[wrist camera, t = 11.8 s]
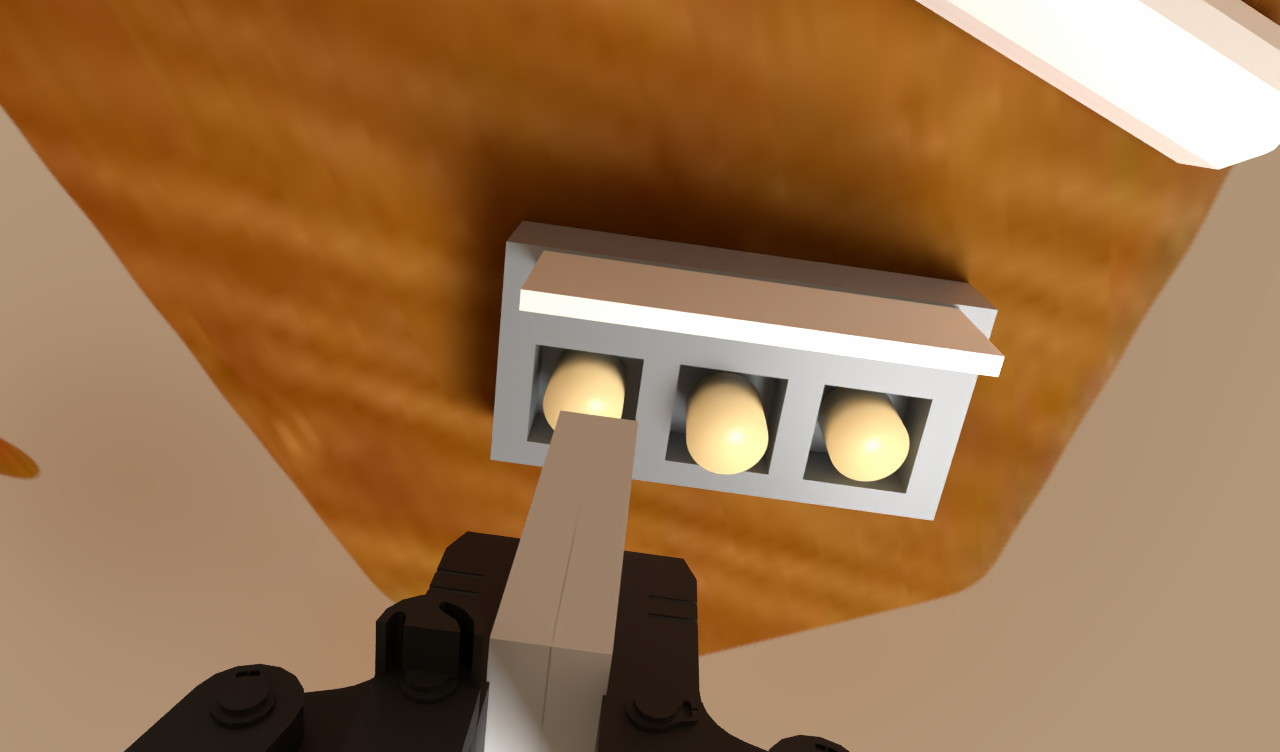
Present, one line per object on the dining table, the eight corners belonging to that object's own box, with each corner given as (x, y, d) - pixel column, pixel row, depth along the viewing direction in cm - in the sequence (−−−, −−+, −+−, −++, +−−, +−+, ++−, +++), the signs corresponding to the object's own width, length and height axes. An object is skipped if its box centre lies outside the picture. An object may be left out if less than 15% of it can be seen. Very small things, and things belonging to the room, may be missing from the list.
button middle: (680, 435, 51) (680, 468, 48) (692, 367, 49) (692, 395, 46) (754, 446, 51) (760, 479, 48) (768, 378, 50) (775, 407, 46)
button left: (549, 407, 52) (539, 436, 49) (556, 339, 51) (546, 364, 47) (621, 416, 53) (617, 447, 49) (631, 349, 51) (627, 376, 47)
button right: (811, 443, 53) (821, 475, 49) (827, 377, 51) (838, 405, 47) (883, 453, 53) (898, 486, 49) (901, 387, 51) (918, 416, 47)
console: (506, 422, 55) (462, 524, 44) (522, 220, 50) (477, 278, 39) (912, 478, 55) (969, 594, 44) (968, 283, 50) (1049, 358, 39)
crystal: (824, -17, 41) (1220, 225, 45) (920, -166, 36) (1363, 124, 39) (844, -80, 46) (1201, 144, 49) (932, -221, 40) (1327, 42, 44)
